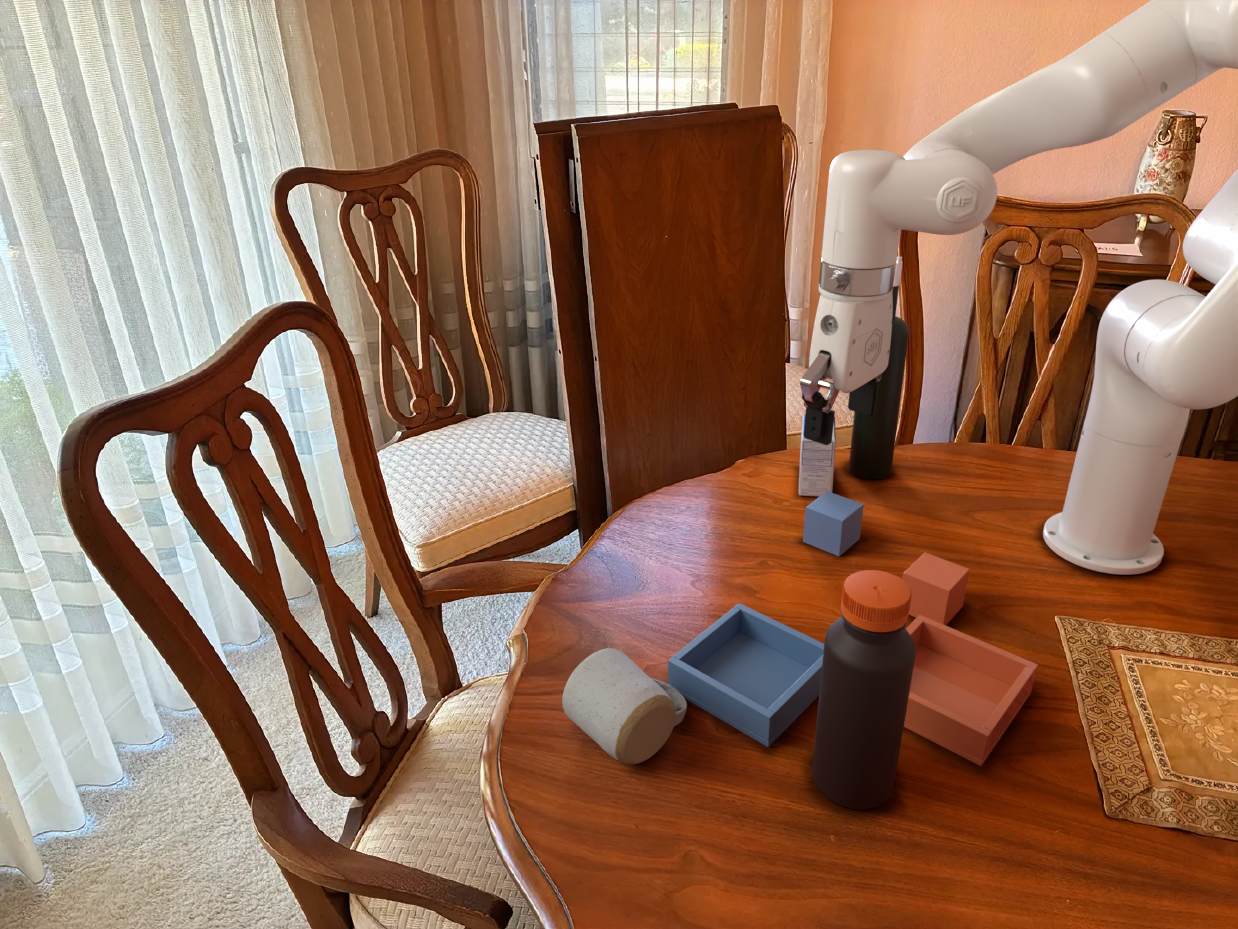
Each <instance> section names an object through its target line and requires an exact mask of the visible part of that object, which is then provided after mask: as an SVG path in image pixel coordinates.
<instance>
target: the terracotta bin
mask: <svg viewBox="0 0 1238 929" xmlns="http://www.w3.org/2000/svg"><path fill="white" fill-rule="evenodd" d="M905 629H906V630H907V631H908V633H909V634H910V635H911V636H912V638H913V640H914V643H915V647H916V656H915V662H914V668H913V674H912V680H911V686H910V692H909V698H908V704H907V710H906V716H905V722H904V728H905V729H907V730H909V731H911V732H913V733H915V734H917V735H919V736H921V737H923V738H924V739H926V740H928V741H931V742H933V743H935V744H936V745H938V746H940V747H942V748H944V749H946V750H948V751H950V752H952V753H954V754H955V755H958V756H960V757H962V758H964V759H966V760H968V761H969V762H971V763H973V764H976V765H977V766H979V767H982V766H983V765H984V763H985V762H986V760H987V758H988V757H989V756H990V754H991V752H993V751H994V749H995V747H996V745H998V742H999V741H1000V740H1001V738H1002V737H1003V736H1004V734H1005V732H1006V731H1007V729H1008V728H1009V727H1010V725H1011V724H1012V722H1013V721H1014V719H1015V718H1016V716H1017V715H1018V714H1019V712H1020V711H1021V709H1022V707H1023V706H1024V705H1025V703H1026V702H1027V700H1028V699H1029V697H1030V696H1031V694H1032V690H1033V687H1034V683H1035V679H1036V676H1037V671H1038V667H1039V664H1038V663H1035V662H1033V661H1031V660H1028V659H1026V658H1023V657H1022V656H1019V655H1016V654H1014V653H1012V652H1009V651H1007V650H1004V649H1002V648H1000V647H997V646H995V645H993V644H991V643H988V642H985V641H983V640H981V639H979V638H976V637H974V636H971V635H969V634H967V633H965V632H963V631H959V630H957V629H955V628H953V627H950V626H948V625H943V624H941V623H938V622H936V621H934V620H931V619H929V618H927V617H924V616H922V615H918V616H917V618H914V619H913V621H912V622H910V624H909V625H908V626H907V627H905Z"/></svg>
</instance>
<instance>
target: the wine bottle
mask: <svg viewBox="0 0 1238 929" xmlns="http://www.w3.org/2000/svg"><path fill="white" fill-rule="evenodd" d="M903 261H904V260H903V256H897V261H896V270H895V277H894V285H893V292H892V295H893V316H892V331H891V343H890V353H889V361H888V366H887V368H886V369H885V371H884V372H882V376H881V379H880V381H879V382H876V381H875V382H876V383H879V386H878V393H877V401H876V408H875V413H874V414H873V415H872V416H869V415H865V414H862V413H858V412H855V411H853V419H852V420H853V421H852V432H851V441H850V451H849V460H848V461H849V462H848V470H849V472H850V473H851V474H852V475H853V476H855V477H858V478H861V479H863V480H869V481H875V480H876V481H878V480H883V479H886V478H888V477H890V476H891V474H892V470H893V461H894V454H895V446H896V439H897V430H898V423H899V415H900V406H901V398H902V391H903V383H904V376H905V369H906V368H905V367H906V360H907V354H908V353H907V352H908V344H909V336H910V329H909V325H908V324H907V323H906V321H905V320H904V319H902V318H901V317H899V316H896V315H897V305H898V297H899V291H900V290H899V289H900V285H901V279H902V270H903Z"/></svg>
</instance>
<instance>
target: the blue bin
mask: <svg viewBox="0 0 1238 929" xmlns="http://www.w3.org/2000/svg"><path fill="white" fill-rule="evenodd" d="M823 652H824V642H822V641H819V640H817V639H816V638H813V637H811V636H809V635H807V634H805V633H803V632H801V631H799V630H797V629H795V628H792V627H790V626H788V625H786V624H784V623H782V622H780V621H778V620H775V619H774V618H771V617H769V616H768V615H766V614H763V613H761V612H759V611H757V610H755V609H753V608H751V607H749V606H747V605H744V604H742V603H740V602H738V603H737V604H735V605H734V606H733V607H732V608H731V609H730V610H728V611H727V612H725V613H724V614H723V615H722V616H721V617H719V618H718V619H717V620H716V621H714V623H712V624H711V625H710V626H708V627H706V629H704V630H703V631H702V632H701V633H699V635H697V636H696V637H695V638H693V639H692V640H691V641H690V642H689V643H687V644H686V645H685V646H683V647H682V648H681V649H680V650H679V651H677V652H676V653H675V654H673V655H672V656H671V657H670V658H669V659H668V660H667V684H668V685H670V686H671V687H673V688H674V689H676V690H677V691H678V692H679V693H680V694H681V695H682V696H683V697H684V698H685V700H686V701H687V702H690V703H692V704H693V705H695V706H697V707H698V708H701V709H702V710H703V711H706V712H707V713H709V714H710V715H712V716H714V717H716V718H717V719H718V720H720V721H722V722H724V723H725V724H727V725H729V726H730V727H732V728H734V729H736V730H737V731H739V732H741V733H743V734H744V735H746V736H748V737H750V738H751V739H753V740H755V741H756V742H758V743H759V744H761V745H763V746H765V747H767V748H770V746H771V745H773V744H774V742H775V741H776V740H777V739H779V737H780V736H781V735H782V734H783V733H784V732H785V731H786V730H787V729H788V728H789V727H790V726H791V725H792V724H793V723H794V722H795V721H796V720H797V719H798V718H799V717H800V716H801V715H802V713H804V711H805V710H807V708H808V707H810V705H811V704H813V702H814V701H816V699H817V698H819V693H820V682H821V672H822V662H823Z"/></svg>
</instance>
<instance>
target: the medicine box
mask: <svg viewBox="0 0 1238 929" xmlns="http://www.w3.org/2000/svg"><path fill="white" fill-rule="evenodd" d="M804 424H805V414H803V415H802V422H801V435H800V451H799V452H800V453H799V476H798V477H799V478H798V496H802V497H815V498H816V497H817V498H819V497H820V496H821V495H823V494H824V493H825V492H827V491H828V492H831V493H833V487H834V486H833V485H834V473H835V472H834V471H835V460H836V459H835V458H836V443H837V438H836V437H837V436H836V434H837V432H836V416H835V415H834V424H833V434H832V442H831V443H830V444H829V445H824V444H821V443H818V442H815V441H812V440H809V439H806V438H805V437H804Z"/></svg>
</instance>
